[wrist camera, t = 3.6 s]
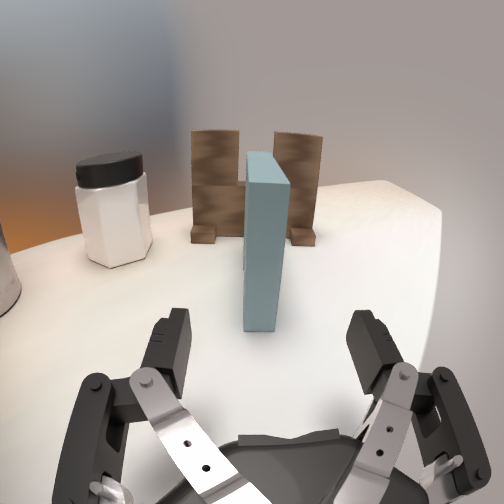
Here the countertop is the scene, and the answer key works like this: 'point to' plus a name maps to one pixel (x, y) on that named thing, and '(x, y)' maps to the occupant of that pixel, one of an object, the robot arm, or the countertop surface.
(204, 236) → the brown wooden u-shaped piece
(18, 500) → the countertop surface
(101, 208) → the jar
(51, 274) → the countertop surface
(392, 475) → the robot arm
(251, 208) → the teal rectangular panel
